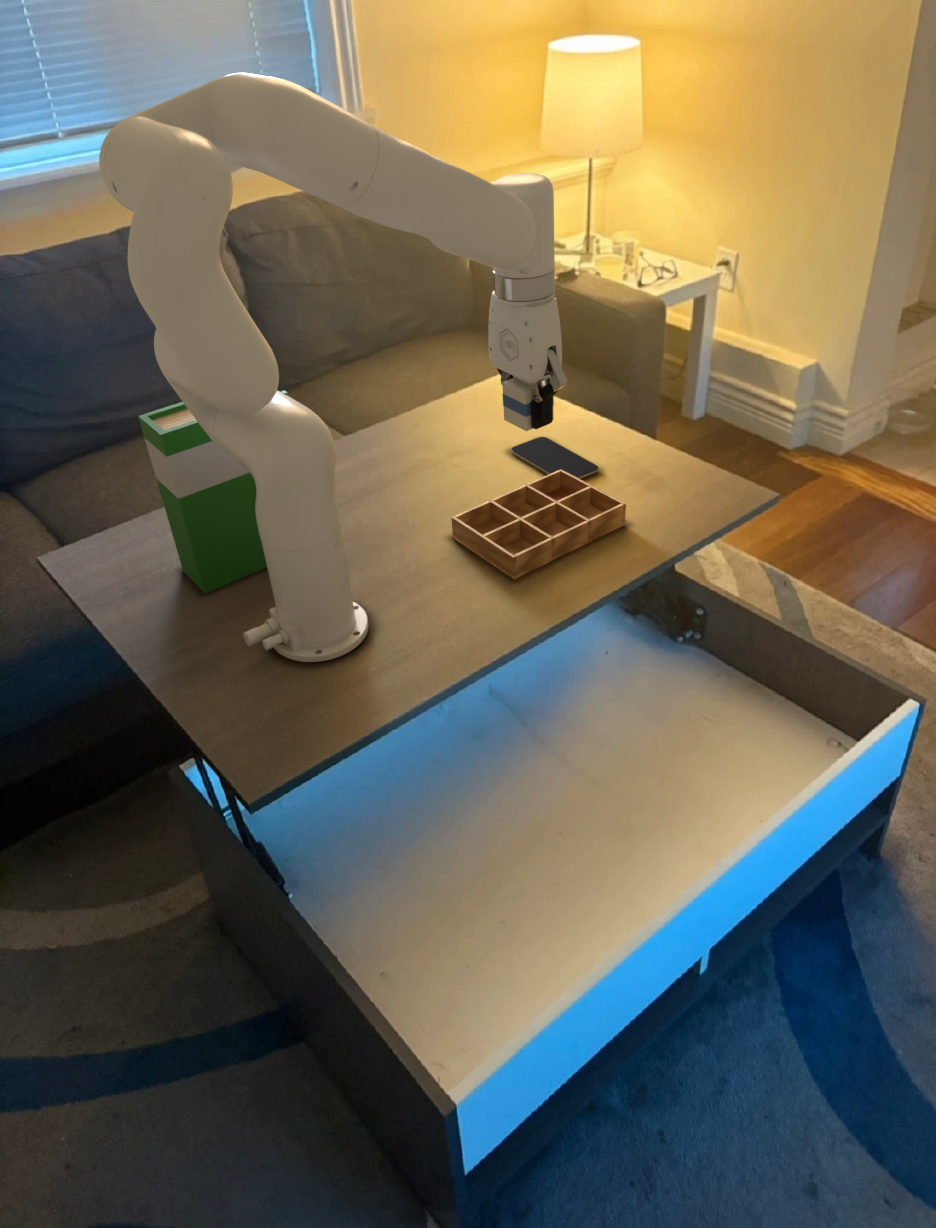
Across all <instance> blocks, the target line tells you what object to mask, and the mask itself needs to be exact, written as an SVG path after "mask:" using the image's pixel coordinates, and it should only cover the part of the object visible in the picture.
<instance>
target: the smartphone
mask: <svg viewBox="0 0 936 1228" xmlns="http://www.w3.org/2000/svg"><path fill="white" fill-rule="evenodd" d="M511 454H513V455H514V456H516V457H518V458H519V459H521V460H523V461H524V462H527V464H529V465H531V466H532V467H534V468H536V469H538V470H539V471H541V472H543V473H545V474H546V475H549V474H551V473H553V472H555V471H558V470H560V469H562V470H564V471H565V472H567V473H569V474H571V475H573V476H575V477H577V478H579V479H581V480H582V479H584V478H586V477H589V476H591V475H594V474H597V473H598V471H599V466H598V465H597V464H595V463H593V462H592V461H590V460H588V459H586V458H585V457H583V456H581V455H579V454H577V453H575V452H574V451H572V450H570V449H568V448H567V447H564V446H563V445H561V444H559V443H558V442H556V441H553V440H552V439H550V438H548V437H546V436H540V437H535V438H533V439H530V440H528V441H525V442H522V443H520V444H517V445H514V446H513V447H511Z"/></svg>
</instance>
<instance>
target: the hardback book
mask: <svg viewBox="0 0 936 1228" xmlns="http://www.w3.org/2000/svg"><path fill="white" fill-rule="evenodd" d="M280 392H281V393H283V394H285V395H287V396H289V393H288V391H286V390H280ZM137 417H138V420H139V424H140V427H141V432H142V434H143V438H144V442H145V445H146V448H147V452H148V455H149V458H150V462H151V465H152V469H153V472H154V476H155V479H156V482H157V485H158V490H159V493H160V497H161V500H162V503H163V507H164V510H165V513H166V517H167V521H168V524H169V527H170V531H171V533H172V537H173V541H174V545H175V547H176V548H175V549H176V551H177V554H178V555H177V556H178V558H179V561H180V565H181V569H182V571H183V573H184V574H185V575H186V576H187V577H188V578H189V579H190V580H191V581H192V582H193V583H194V584H195V585H196V586H197V588H199V589H200V590H201V591H202V592H203V593H204V594H207V593H209V592H213V591H214V590H217V589H219V588H222V587H223V586H226V585H229V584H231V583H233V582H236V581H238V580H240V579H242V578H245V577H248V576H249V575H252V574H254V573H257V572H260V571H261V570H264V569H266V568H267V564H266V560H265V555H264V551H263V546H262V542H261V539H260V535H259V530H258V526H257V520H256V513H255V502H256V484H255V480H254V478H253V476H252V475H251V473H250V472H249V471H248V470H246V469H245V468H244V467H243V466H241V465H240V464H239V463H238V462H237V461H235V460H234V459H233V458H231V457H230V456H229V455H227V454H226V453H225V452H223V451H222V450H221V449H220V448H219V447H218V446H217V445H216V444H215V443H214V442H213V441H212V440H211V438H210V437H209V436H208V435H207V433H206V432H205V431H204V430H203V428H202V427H201V426H200V424H199V423H198V422H197V420H196V419H195V418H194V416H193V415H192V414H191V412H190V411H189V409H188V408H187V407H186V405H185V404H184V403H183V401H181V402H177V403H174V404H171V405H168V406H165V407H162V408H159V409H155V410H152V411H149V412H146V413H142V414H140V415H137Z"/></svg>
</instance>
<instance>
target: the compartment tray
mask: <svg viewBox="0 0 936 1228" xmlns="http://www.w3.org/2000/svg"><path fill="white" fill-rule="evenodd" d="M626 512H627V503H625V502H624V501H622V500H620V499H618V498H616V497H615V496H612V495H611V494H609V493H607V492H606V491H603V490H601V489H599V488H598V487H596V486H594V485H591V484H589V483H588V482H587V481H584V480H583V479H582V478H581V479H579V478H577V477H575V476H573V475H571V474H569V473H567V472H565V471H564V470H562V469H560V470H558V471H555V472H553V473H551V474H549V475H548V474H546V475H545V476H542V477H540V478H537V479H535V480H532V481H531V482H530V481H529V482H528V483H526V484H524V485H521V486H518V487H517V488H514V489H512V490H510V491H508V492H505V493H503V494H500V495H498V496H497V497H494V498H492V499H490V500H488V501H485V502H483V503H481V504H478V505H476V506H474V507H471V508H469V509H466V510H464V511H462V512H460V513H458V514H456V515H453V516H451V518H450V519H451V528H452V531H451V532H452V539H453V540H455V541H457V542H458V543H459V544H461V545H462V546H464V547H465V548H467V549H468V550H470V551H471V552H473V553H474V554H475V555H477V556H478V557H480V558H481V559H483V561H486V562H487V563H488V564H490V565H492V566H493V567H494V568H496V569H498V570H499V571H500V572H501V573H503V574H505V575H506V576H508V577H509V578H511V579H512V580H515V581H516V579H519V578H520V577H523V576H524V575H527V574H528V573H531V572H533V571H535V570H537V569H539V568H541V567H543V566H545V565H547V564H549V563H551V562H553V561H555V560H557V559H559V558H561V557H563V556H565V555H567V554H569V553H571V552H573V551H575V550H577V549H579V548H581V547H584V546H585V545H587V544H590V543H592V542H594V541H595V540H597V539H600V538H602V537H603V536H606V535H607V534H609V533H612V532H614V531H616V530H618V529H619V528H621V527H624V526H625V525H626V516H627V515H626V514H627V513H626Z"/></svg>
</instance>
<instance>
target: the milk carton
mask: <svg viewBox="0 0 936 1228" xmlns="http://www.w3.org/2000/svg"><path fill="white" fill-rule="evenodd" d="M501 386H502V407H503V420H504V421H505V422H507V423H509V424H511V425H513V426H515V427H516V428H519V429H521V430H523V431H525V432H528V431H531V430H533V429H534V428H532V422H531V401H532V400H534V395H533V390H532V386H531V383H529V382H526V381H524V380H522V379H519V378H517V377H515V376H513V378H512V379H510V380H507V381H504V382H502V384H501ZM540 386H541V389H542V388H543V387H544V386H545V380H543V381H540ZM554 398H555V396H554V397H552V410H553V411H554V407H555V401H554ZM554 420H555V419H554V415H553V421H554Z"/></svg>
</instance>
